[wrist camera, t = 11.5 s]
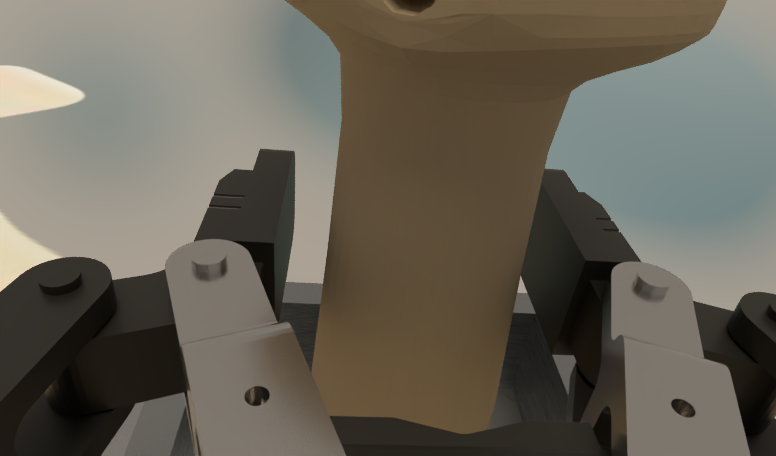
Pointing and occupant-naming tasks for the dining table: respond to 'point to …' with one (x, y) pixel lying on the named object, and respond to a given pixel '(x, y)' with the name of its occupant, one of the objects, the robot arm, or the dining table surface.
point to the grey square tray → (301, 309)
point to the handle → (452, 182)
